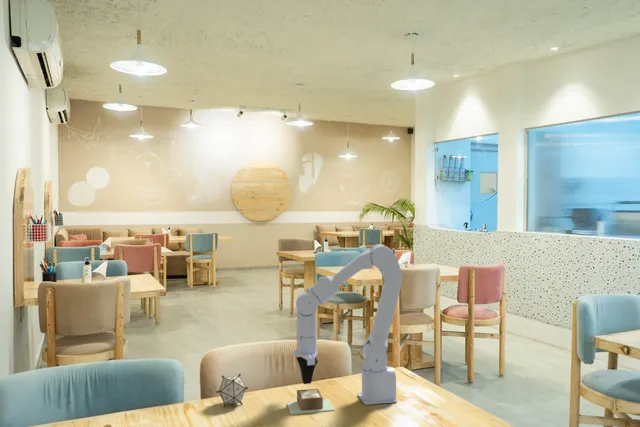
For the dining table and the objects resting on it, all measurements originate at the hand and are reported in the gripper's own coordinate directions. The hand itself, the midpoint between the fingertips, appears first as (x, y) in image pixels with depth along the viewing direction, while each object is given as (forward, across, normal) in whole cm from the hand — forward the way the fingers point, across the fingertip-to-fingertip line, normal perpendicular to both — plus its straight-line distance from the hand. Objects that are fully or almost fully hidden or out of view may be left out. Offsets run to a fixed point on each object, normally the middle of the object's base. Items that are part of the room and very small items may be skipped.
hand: (306, 383), depth 142 cm
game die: (+5, -2, -21) cm, 22 cm away
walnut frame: (+3, +1, 0) cm, 3 cm away
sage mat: (+5, +5, 0) cm, 7 cm away
